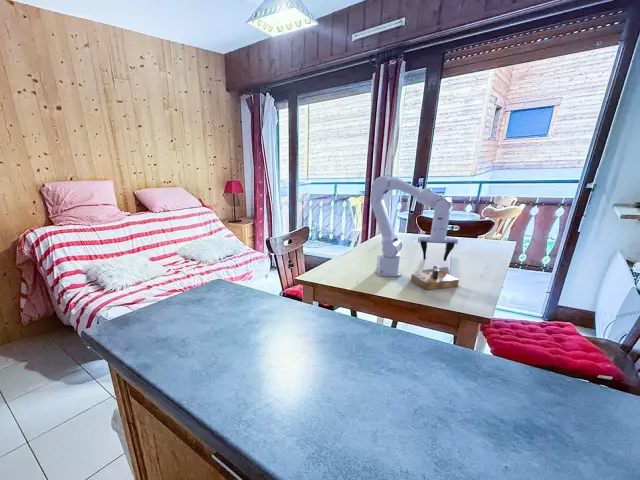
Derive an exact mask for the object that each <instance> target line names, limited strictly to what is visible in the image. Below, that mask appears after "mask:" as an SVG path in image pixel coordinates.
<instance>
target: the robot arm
mask: <svg viewBox="0 0 640 480" xmlns="http://www.w3.org/2000/svg"><path fill="white" fill-rule="evenodd" d="M396 190H398V191H401V192H403V193H405V194H408V195H410V196H412V197H414V198H415V199H416V202H418V203H419V204H422V205H423V206H425V207H428V208H430V209H432V210H433V211H434V213H433V216H432V223H431V228H430V235H429V236H418V237H417V243H419V244H420V247H421V250H422V257H423V258H422V259H423V260H426V256H427V250H428V244H429V243H430V244H445V248H446V250H445V254H444V261H446V259H447V257H448V255H449V253H450V254H451V252H452V251H453V249H454V248H455V245H459V244H458V243H459V238H454V237H447V234H448V227H449V222H450V214H451V208H452V207H453V200H452V199H451V198H450V197H449V196H446V195H443V194H442V193H437V192H434V191H433V189H432V188H430V187H429V188H426V187H425V188H422V189H420V188H419V187H417V186H414V185H412V184H411V183H408V182H406V181H404V180H403V179H401V178H398V177H396V176H393V175H390V174H385V175H383V176H377V178H375V179H374V181H373V183H372V184H371V191H370V196H369V202H370V205H371V207H372V208H371V209H372V211H373V214H374V217H375V219H376V223H377V225H378V228H379V231H380V235H381V245H382V247H381V252H382V254H381V255H377V256H376V257H377V258H376V265H375V266H376V267H375V273H376V274H377V275H378V276H379V277H401V273H400V272H399V268H400V259H401V254H400V251H401V250H402V248H403V242H402V241H401V240H400V239H399V238H398V235H397V234H396V233H395V231H394V229H393V225H392V222H391V220H390V216H389V214H388V210H387V208H386V205H385V201H384V199H385V197H386V195H387V194H388V193H389V191H396Z"/></svg>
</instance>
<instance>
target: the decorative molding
mask: <svg viewBox="0 0 640 480" xmlns="http://www.w3.org/2000/svg"><path fill="white" fill-rule="evenodd" d="M445 250H446V247H439V248H433V249H427V251H426V258H425V261H424V264H423V267H422V273H427V272H432V271H433V266H437V267H438V271H442V272H444V273H446V274H448V275H450V273H451V272H450V271H451V252H450V253H449V255H448V257H447V259H446V261H444V254H445Z"/></svg>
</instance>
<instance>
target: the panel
mask: <svg viewBox="0 0 640 480" xmlns="http://www.w3.org/2000/svg"><path fill="white" fill-rule="evenodd" d="M410 281H411V282H412V283H414V284H416V285H418V286H419V287H420V288H421V289H424V290H427V291H429V290H438V289H446V288H455V287H459V284H460V283H459V281H460V279H458V278H457V277H454V276H452V275H448V274H446V273H444V272H442V271H439V272H438V278H437V279H433V276H432V272H427V273H424V272H419V273H418V272H417V273H412V274H411V276H410Z"/></svg>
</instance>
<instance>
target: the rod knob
mask: <svg viewBox="0 0 640 480" xmlns="http://www.w3.org/2000/svg"><path fill="white" fill-rule="evenodd" d="M438 272H439V271H438V267H437V266H433V271H432V276H433V279H437V278H438Z"/></svg>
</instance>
